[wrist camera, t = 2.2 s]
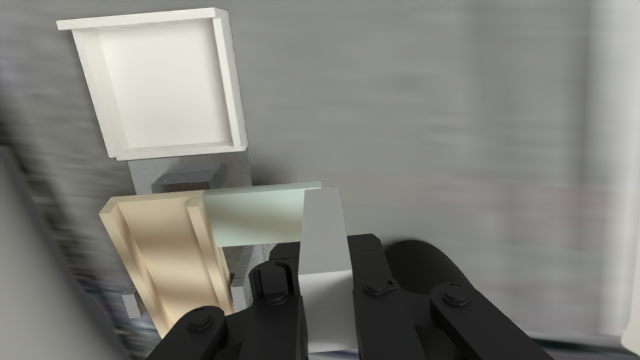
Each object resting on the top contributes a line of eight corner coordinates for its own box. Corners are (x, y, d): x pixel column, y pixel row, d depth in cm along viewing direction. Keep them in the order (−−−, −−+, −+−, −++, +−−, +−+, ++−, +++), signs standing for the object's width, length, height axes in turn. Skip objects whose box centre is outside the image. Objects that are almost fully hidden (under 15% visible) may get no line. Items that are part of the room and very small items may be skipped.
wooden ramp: (112, 190, 28) (85, 225, 25) (320, 174, 28) (322, 207, 25) (183, 345, 39) (172, 384, 36) (334, 335, 39) (336, 373, 36)
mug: (357, 243, 38) (371, 311, 29) (443, 217, 37) (487, 279, 28) (387, 330, 42) (407, 414, 33) (465, 309, 41) (509, 390, 32)
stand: (130, 159, 35) (81, 191, 27) (247, 149, 34) (229, 180, 27) (178, 335, 42) (150, 397, 35) (275, 328, 42) (266, 389, 35)
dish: (91, 22, 30) (55, 20, 26) (228, 11, 30) (213, 7, 26) (127, 154, 34) (101, 170, 30) (248, 144, 34) (238, 159, 30)
